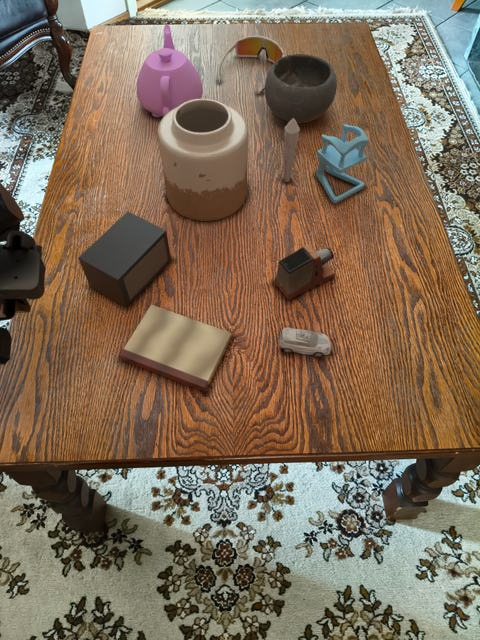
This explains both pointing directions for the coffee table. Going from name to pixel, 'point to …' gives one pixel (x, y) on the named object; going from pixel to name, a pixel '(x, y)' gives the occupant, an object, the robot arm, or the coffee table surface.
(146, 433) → the coffee table surface
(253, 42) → the sunglasses
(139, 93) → the teapot
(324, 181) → the blue-grey angular frame piece
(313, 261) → the electronic device
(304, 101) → the bowl
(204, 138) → the vase
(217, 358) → the notebook
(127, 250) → the block
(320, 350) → the toy car
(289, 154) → the grey pointed post
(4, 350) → the robot arm
